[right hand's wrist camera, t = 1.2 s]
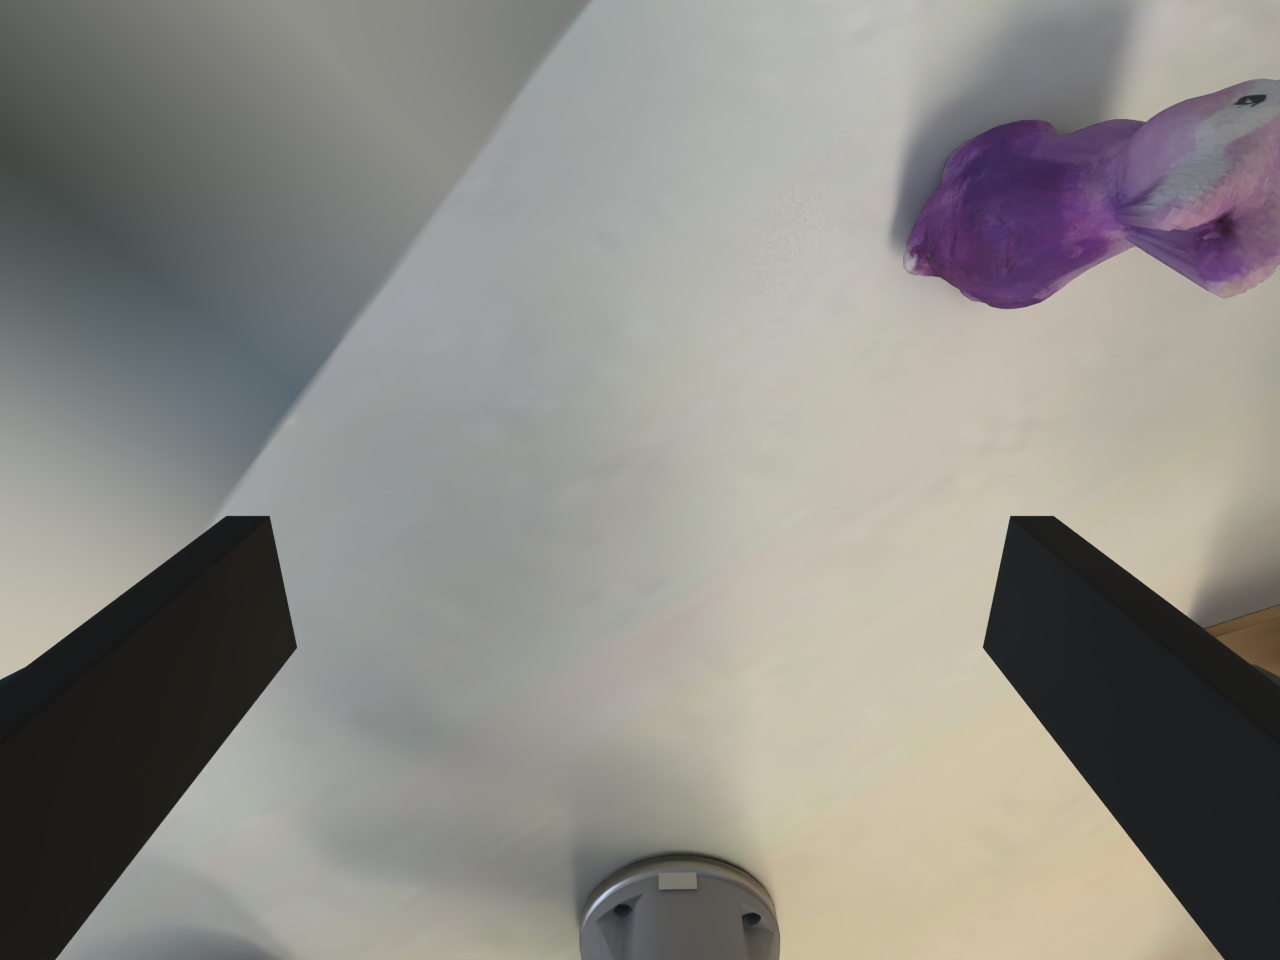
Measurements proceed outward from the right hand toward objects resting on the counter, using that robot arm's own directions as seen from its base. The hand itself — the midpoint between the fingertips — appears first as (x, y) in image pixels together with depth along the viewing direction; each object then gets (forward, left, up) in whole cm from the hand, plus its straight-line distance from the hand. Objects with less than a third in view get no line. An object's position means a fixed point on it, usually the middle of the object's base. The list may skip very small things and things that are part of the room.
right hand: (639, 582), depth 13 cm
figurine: (+8, -18, -27) cm, 34 cm away
